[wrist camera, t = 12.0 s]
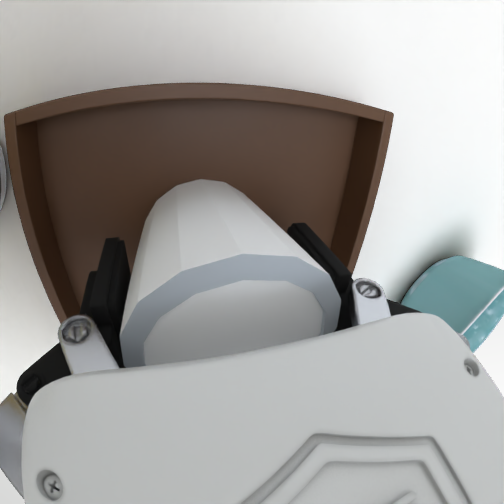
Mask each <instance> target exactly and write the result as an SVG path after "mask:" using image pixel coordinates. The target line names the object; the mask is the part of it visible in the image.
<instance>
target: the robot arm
mask: <svg viewBox="0 0 504 504" xmlns="http://www.w3.org/2000/svg"><path fill="white" fill-rule="evenodd" d="M287 234H288V235H289V236H290V237H291V238H292V239H293V240H294V241H295V242H296V243H297V244H298V245H299V246H300V247H301V248H302V249H303V250H305V251H306V252H307V253H308V254H309V255H310V256H311V257H312V258H313V259H314V260H315V261H316V262H317V263H318V264H319V265H320V266H321V267H322V268H323V269H324V270H325V271H326V272H327V273H328V274H329V275H330V277H331V279H332V281H333V283H334V286H335V288H336V290H337V292H338V294H339V296H340V298H341V306H340V312H339V318H338V324H337V328H336V329H335V331H334V332H332V333H329V334H325V335H321V336H317V337H313V338H309V339H304V340H300V341H296V342H292V343H287V344H283V345H278V346H273V347H268V348H264V349H259V350H253V351H248V352H243V353H237V354H231V355H225V356H219V357H213V358H207V359H200V360H193V361H185V362H177V363H169V364H159V365H150V366H141V367H130V368H126V367H125V366H124V363H123V357H122V350H121V343H120V331H121V325H122V319H123V314H124V308H125V303H126V298H127V293H128V288H129V284H130V279H131V272H130V268H129V263H128V257H127V252H126V247H125V242H124V240H120V238H119V237H114V238H106V240H105V243H104V246H103V250H102V254H101V257H100V261H99V265H98V269H97V271H91V272H90V273H89V276H88V279H87V283H86V287H85V291H84V295H83V300H82V304H81V309H80V313H79V314H76V315H73V316H70V317H69V318H67V319H66V320H65V321H63V322H62V324H61V325H60V327H59V330H58V338H59V341H60V342H59V343H58V344H57V345H56V346H54V347H53V348H52V349H51V350H50V351H48V352H47V353H46V354H45V355H44V356H42V357H41V358H40V359H39V360H38V361H36V362H35V363H34V364H33V365H32V366H30V367H29V368H28V369H27V370H26V371H25V372H24V373H23V374H22V375H21V376H20V378H19V380H18V382H17V392H16V393H15V394H14V395H13V394H12V393H10V394H9V395H8V396H7V397H6V398H5V400H4V401H3V402H2V403H1V404H0V468H1V470H2V471H3V472H4V474H5V475H6V477H7V478H8V479H9V481H10V482H11V483H12V485H13V486H14V487H15V489H16V490H17V491H18V492H19V494H20V495H21V496H22V497H23V499H24V500H25V504H504V397H503V396H502V394H501V393H500V391H499V389H498V388H497V386H496V385H495V383H494V382H493V380H492V379H491V377H490V376H489V374H488V373H487V372H486V370H485V369H484V367H483V366H482V365H481V363H480V362H479V360H478V359H477V358H476V356H475V355H474V354H473V352H472V351H471V350H470V344H469V341H468V340H467V338H466V337H465V336H464V335H462V334H460V333H458V332H456V331H454V330H453V329H452V328H451V327H450V326H449V325H448V324H447V323H446V322H445V321H444V320H442V319H441V318H440V317H438V316H436V315H432V314H428V313H422V312H420V311H418V310H415V309H412V308H410V307H407V306H404V305H401V304H399V303H396V302H393V301H390V300H388V299H386V296H385V293H384V290H383V288H382V287H381V286H380V285H379V284H378V283H376V282H374V281H372V280H370V279H366V278H360V279H356V280H355V281H353V279H352V278H351V277H352V273H351V272H350V271H349V270H348V269H347V268H346V267H345V265H344V264H343V263H342V262H341V261H340V260H339V259H338V258H337V256H336V255H335V254H334V253H333V252H332V251H331V250H330V249H329V248H328V247H327V245H326V244H325V243H324V242H323V241H322V240H321V239H320V238H319V237H318V236H317V235H316V234H315V232H314V231H313V230H312V229H311V228H310V227H309V226H308V225H307V224H306V223H293V224H292V225H291V226H290V227H288V229H287Z"/></svg>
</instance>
